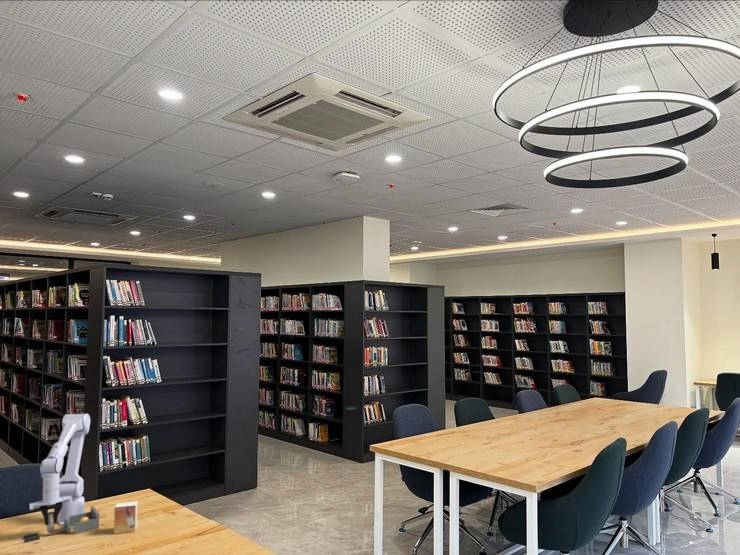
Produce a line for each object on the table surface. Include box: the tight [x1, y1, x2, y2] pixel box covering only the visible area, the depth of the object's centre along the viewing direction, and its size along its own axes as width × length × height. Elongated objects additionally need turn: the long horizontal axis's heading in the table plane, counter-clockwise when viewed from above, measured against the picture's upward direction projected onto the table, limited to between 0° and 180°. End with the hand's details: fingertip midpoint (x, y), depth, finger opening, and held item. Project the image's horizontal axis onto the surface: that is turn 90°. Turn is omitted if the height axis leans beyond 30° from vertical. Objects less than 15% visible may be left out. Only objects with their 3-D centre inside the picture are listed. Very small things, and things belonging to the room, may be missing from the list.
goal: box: [69, 505, 100, 535], centre depth 225 cm, size 9×11×6 cm
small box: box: [113, 500, 139, 535], centre depth 221 cm, size 8×6×10 cm
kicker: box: [46, 511, 72, 536], centre depth 220 cm, size 8×6×8 cm
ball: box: [79, 517, 90, 522], centre depth 225 cm, size 4×4×4 cm
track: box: [22, 532, 41, 544], centre depth 214 cm, size 5×4×1 cm
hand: (50, 523), depth 218 cm, fingers closed on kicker, 2 cm apart
